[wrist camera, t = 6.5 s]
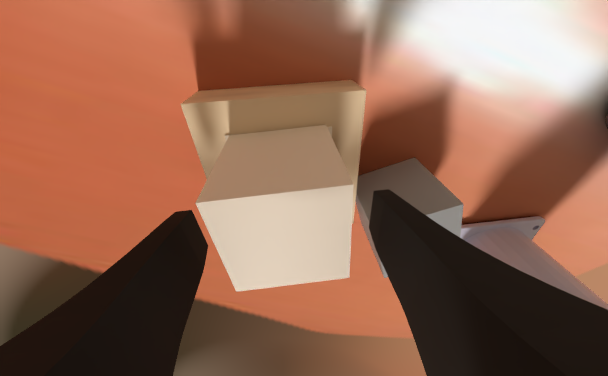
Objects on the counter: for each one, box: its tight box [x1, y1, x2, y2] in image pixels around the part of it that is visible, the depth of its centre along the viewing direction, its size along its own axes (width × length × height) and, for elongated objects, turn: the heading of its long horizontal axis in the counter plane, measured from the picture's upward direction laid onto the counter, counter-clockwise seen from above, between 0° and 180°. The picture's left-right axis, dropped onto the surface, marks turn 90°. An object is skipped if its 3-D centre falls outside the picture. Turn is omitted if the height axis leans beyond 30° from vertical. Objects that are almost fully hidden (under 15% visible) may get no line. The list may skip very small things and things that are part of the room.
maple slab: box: [181, 80, 366, 224], centre depth 13 cm, size 8×8×3 cm
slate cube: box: [356, 157, 463, 278], centre depth 15 cm, size 4×4×5 cm
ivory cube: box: [196, 125, 354, 292], centre depth 10 cm, size 4×4×5 cm
